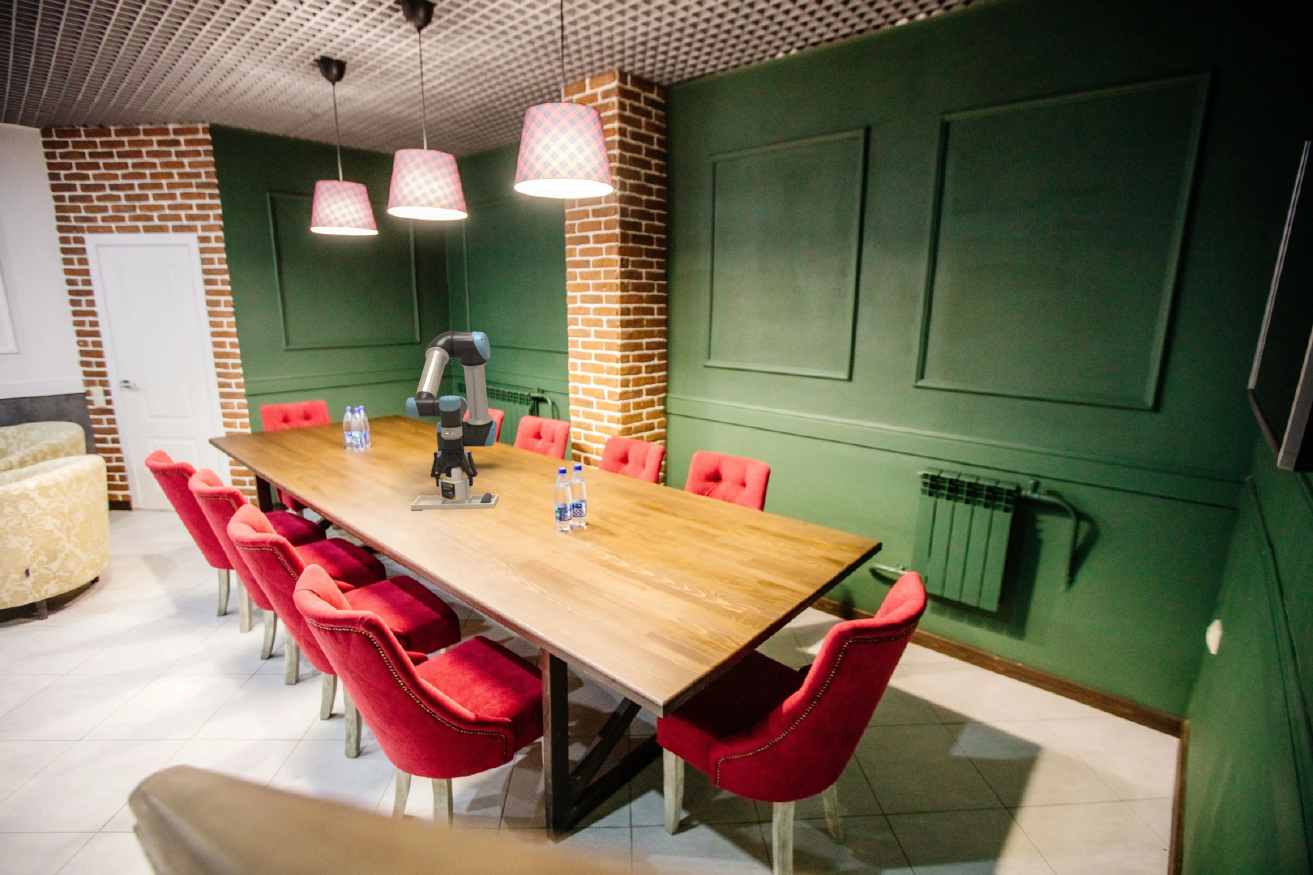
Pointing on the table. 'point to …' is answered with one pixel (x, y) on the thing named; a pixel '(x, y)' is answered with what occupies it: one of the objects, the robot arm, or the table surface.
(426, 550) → the table surface
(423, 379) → the robot arm
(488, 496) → the grey cylinder
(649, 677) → the table surface
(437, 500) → the organiser
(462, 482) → the medicine bottle
